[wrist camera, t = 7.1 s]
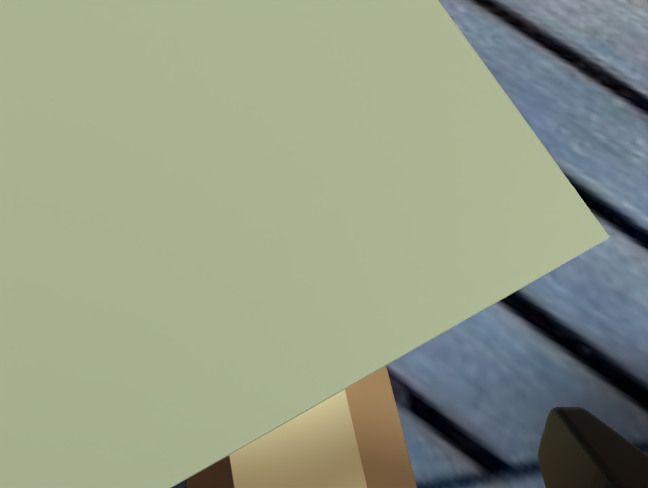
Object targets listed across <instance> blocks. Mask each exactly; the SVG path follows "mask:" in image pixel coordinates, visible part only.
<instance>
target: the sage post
mask: <svg viewBox="0 0 648 488" xmlns="http://www.w3.org/2000/svg"><path fill="white" fill-rule="evenodd" d="M608 238H610V237H609V236H608V234H607V233H606V232H605V230H604V229H603V227H602V226H601V225H600V223H599V222H598V221H597V219H596V218H595V216H594V215H593V214H592V212H591V211H590V210H589V208H588V207H587V205H586V204H585V203H584V201H583V200H582V198H581V197H580V196H579V194H578V193H577V192H576V190H575V189H574V187H573V186H572V185H571V183H570V182H569V181H568V179H567V178H566V176H565V175H564V174H563V172H562V171H561V169H560V168H559V167H558V165H557V164H556V163H555V161H554V160H553V158H552V157H551V156H550V154H549V153H548V151H547V150H546V149H545V147H544V146H543V145H542V143H541V142H540V140H539V139H538V138H537V136H536V135H535V134H534V132H533V131H532V129H531V128H530V127H529V125H528V124H527V122H526V121H525V120H524V118H523V117H522V116H521V114H520V113H519V111H518V110H517V109H516V107H515V106H514V105H513V103H512V102H511V100H510V99H509V98H508V96H507V95H506V93H505V92H504V91H503V89H502V88H501V87H500V85H499V84H498V82H497V81H496V80H495V78H494V77H493V76H492V74H491V73H490V71H489V70H488V69H487V67H486V66H485V64H484V63H483V62H482V60H481V59H480V58H479V56H478V55H477V53H476V52H475V51H474V49H473V48H472V46H471V45H470V44H469V42H468V41H467V40H466V38H465V37H464V35H463V34H462V33H461V31H460V30H459V29H458V27H457V26H456V24H455V23H454V22H453V20H452V19H451V17H450V16H449V15H448V13H447V12H446V11H445V9H444V8H443V6H442V5H441V4H440V2H439V1H438V0H0V488H172V487H174V486H175V485H177V484H179V483H181V482H183V481H184V480H186V479H188V478H190V477H191V476H193V475H195V474H197V473H198V472H200V471H202V470H204V469H206V468H207V467H209V466H211V465H213V464H214V463H216V462H218V461H220V460H222V459H223V458H225V457H227V456H229V455H230V454H232V453H234V452H236V451H237V450H239V449H241V448H243V447H244V446H246V445H248V444H250V443H251V442H253V441H255V440H257V439H259V438H260V437H262V436H264V435H266V434H267V433H269V432H271V431H273V430H274V429H276V428H278V427H280V426H281V425H283V424H285V423H287V422H288V421H290V420H292V419H294V418H295V417H297V416H299V415H301V414H302V413H304V412H306V411H308V410H309V409H311V408H313V407H315V406H316V405H318V404H320V403H322V402H324V401H325V400H327V399H329V398H331V397H332V396H334V395H336V394H338V393H339V392H341V391H343V390H345V389H346V388H348V387H350V386H352V385H353V384H355V383H357V382H359V381H360V380H362V379H364V378H366V377H367V376H369V375H371V374H373V373H374V372H376V371H378V370H380V369H381V368H383V367H385V366H387V365H388V364H390V363H392V362H394V361H395V360H397V359H399V358H401V357H402V356H404V355H406V354H408V353H409V352H411V351H413V350H415V349H416V348H418V347H420V346H422V345H423V344H425V343H427V342H429V341H430V340H432V339H434V338H436V337H437V336H439V335H441V334H443V333H444V332H446V331H448V330H450V329H451V328H453V327H455V326H456V325H458V324H460V323H462V322H463V321H465V320H467V319H469V318H470V317H472V316H474V315H476V314H477V313H479V312H481V311H483V310H484V309H486V308H488V307H490V306H491V305H493V304H495V303H497V302H498V301H500V300H502V299H504V298H505V297H507V296H509V295H511V294H512V293H514V292H516V291H517V290H519V289H521V288H523V287H524V286H526V285H528V284H530V283H531V282H533V281H535V280H537V279H538V278H540V277H542V276H544V275H545V274H547V273H549V272H551V271H552V270H554V269H556V268H558V267H559V266H561V265H563V264H565V263H566V262H568V261H570V260H572V259H573V258H575V257H577V256H579V255H580V254H582V253H584V252H585V251H587V250H589V249H591V248H592V247H594V246H596V245H598V244H599V243H601V242H603V241H605V240H606V239H608Z"/></svg>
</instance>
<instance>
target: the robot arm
mask: <svg viewBox="0 0 648 488" xmlns="http://www.w3.org/2000/svg"><path fill="white" fill-rule="evenodd" d="M538 457H539V465H540V469H541V472H542V476H543V479H544V483H545V486H546V488H648V455H647V454H645V453H644V452H643V451H641V450H640V449H638V448H637V447H636V446H634V445H633V444H632V443H630V442H629V441H628V440H626V439H625V438H623V437H622V436H621V435H619V434H618V433H617V432H615V431H614V430H613V429H611V428H610V427H608V426H607V425H606V424H604V423H603V422H602V421H600V420H599V419H598V418H596V417H595V416H593V415H592V414H591V413H589V412H588V411H586V410H585V409H583V408H579V407H556V408H553V409H552V410H551V411H550V413H549V415H548V418H547V422H546V425H545V429H544V432H543V436H542V439H541V442H540V446H539V453H538Z"/></svg>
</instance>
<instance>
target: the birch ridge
mask: <svg viewBox="0 0 648 488" xmlns="http://www.w3.org/2000/svg"><path fill="white" fill-rule="evenodd" d="M186 482H187V488H417V487H416V483H415V479H414V475H413V471H412V467H411V463H410V459H409V455H408V451H407V447H406V443H405V439H404V435H403V431H402V427H401V423H400V419H399V415H398V411H397V407H396V403H395V399H394V395H393V391H392V387H391V384H390V380H389V376H388V372H387V368H386V366H385V367H383V368H381V369H380V370H378V371H376V372H374V373H373V374H371V375H369V376H367V377H366V378H364V379H362V380H360V381H359V382H357V383H355V384H353V385H352V386H350V387H348V388H346V389H345V390H343V391H341V392H339V393H338V394H336V395H334V396H332V397H331V398H329V399H327V400H325V401H324V402H322V403H320V404H318V405H316V406H315V407H313V408H311V409H309V410H308V411H306V412H304V413H302V414H301V415H299V416H297V417H295V418H294V419H292V420H290V421H288V422H287V423H285V424H283V425H281V426H280V427H278V428H276V429H274V430H273V431H271V432H269V433H267V434H266V435H264V436H262V437H260V438H259V439H257V440H255V441H253V442H251V443H250V444H248V445H246V446H244V447H243V448H241V449H239V450H237V451H236V452H234V453H232V454H230V455H229V456H227V457H225V458H223V459H222V460H220V461H218V462H216V463H214V464H213V465H211V466H209V467H207V468H206V469H204V470H202V471H200V472H198V473H197V474H195V475H193V476H191V477H190V478H188V479H186Z"/></svg>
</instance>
